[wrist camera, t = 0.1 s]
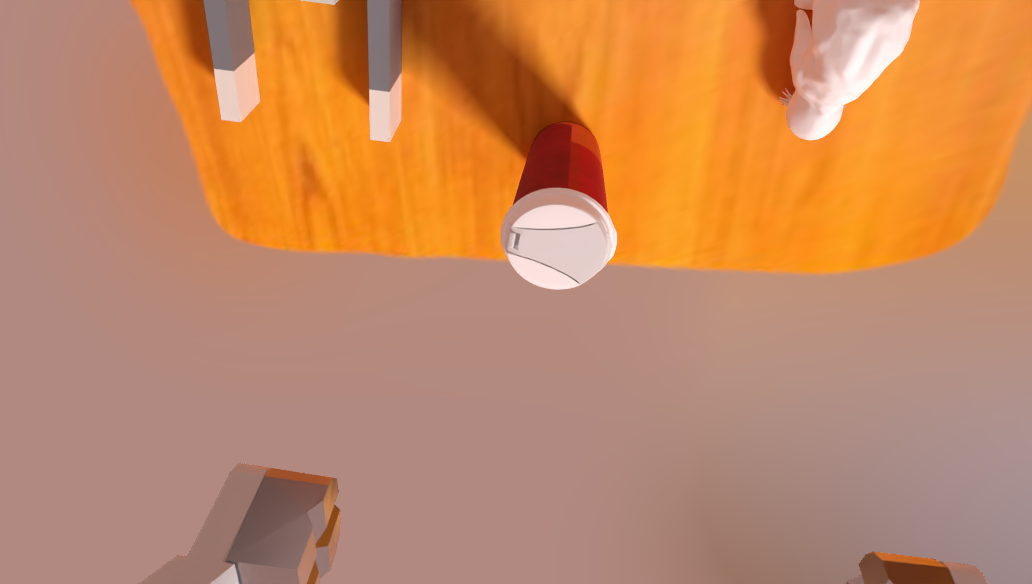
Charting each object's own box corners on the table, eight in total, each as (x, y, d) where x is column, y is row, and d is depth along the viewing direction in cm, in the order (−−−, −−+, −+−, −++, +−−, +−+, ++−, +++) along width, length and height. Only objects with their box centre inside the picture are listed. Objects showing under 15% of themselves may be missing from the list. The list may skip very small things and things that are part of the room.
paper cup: (511, 186, 62) (491, 284, 51) (526, 100, 58) (507, 187, 47) (602, 202, 62) (602, 304, 51) (625, 118, 58) (630, 210, 47)
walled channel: (207, -160, 49) (180, -152, 46) (402, -135, 49) (388, -126, 46) (241, 99, 60) (221, 119, 57) (401, 120, 60) (389, 142, 56)
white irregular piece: (945, 6, 43) (865, 180, 51) (903, -44, 49) (838, 118, 57) (834, -5, 43) (772, 170, 51) (807, -54, 49) (755, 109, 57)
